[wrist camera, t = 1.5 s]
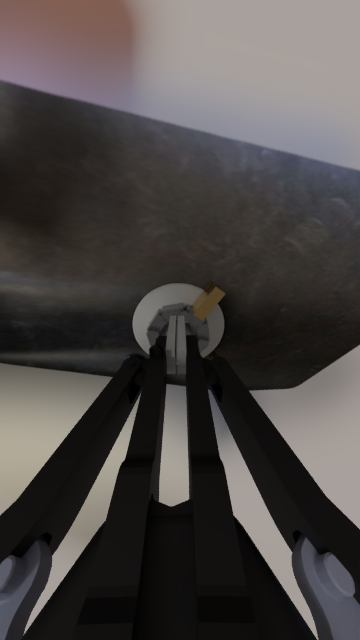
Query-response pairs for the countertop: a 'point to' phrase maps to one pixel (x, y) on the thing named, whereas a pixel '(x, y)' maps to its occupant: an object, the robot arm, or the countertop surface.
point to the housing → (170, 296)
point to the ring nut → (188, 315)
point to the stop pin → (211, 355)
